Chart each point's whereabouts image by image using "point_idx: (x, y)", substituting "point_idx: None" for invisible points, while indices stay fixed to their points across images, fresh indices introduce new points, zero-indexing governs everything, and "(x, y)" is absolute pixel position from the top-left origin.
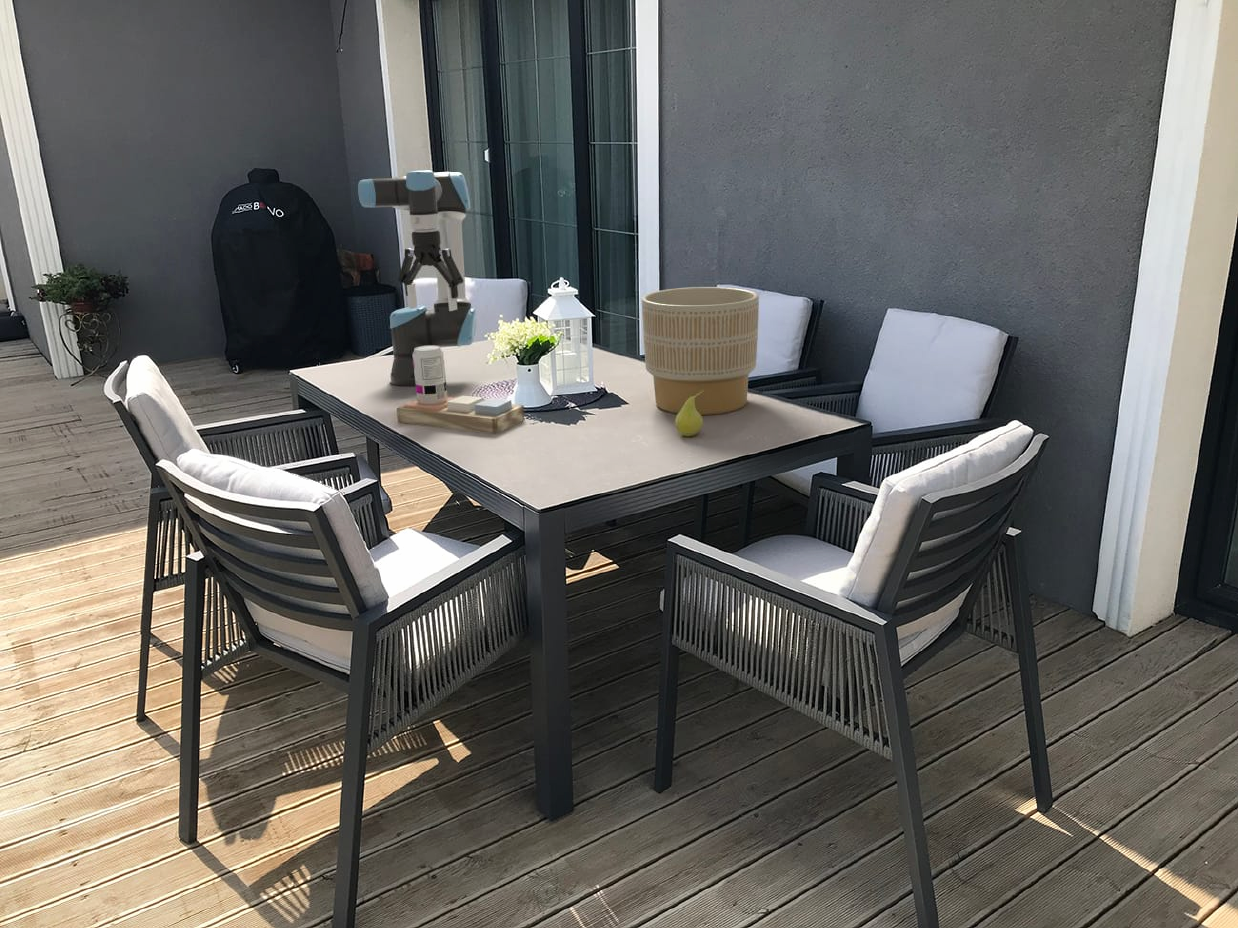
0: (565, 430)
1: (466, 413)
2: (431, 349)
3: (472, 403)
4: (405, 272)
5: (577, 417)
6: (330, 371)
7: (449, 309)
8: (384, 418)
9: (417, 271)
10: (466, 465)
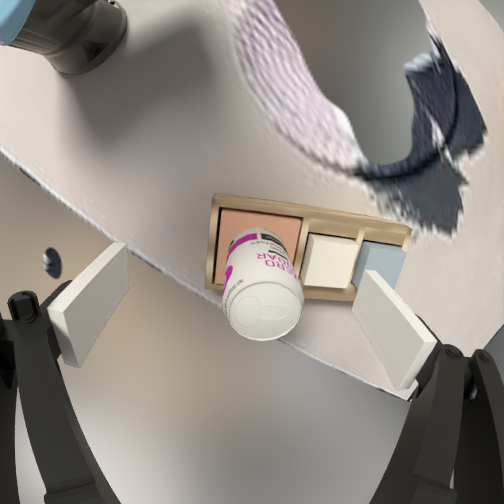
0: (448, 257)
1: (341, 290)
2: (282, 319)
3: (349, 276)
4: (5, 402)
5: (455, 199)
6: None
7: (355, 314)
8: (170, 262)
9: (74, 428)
10: (369, 378)
